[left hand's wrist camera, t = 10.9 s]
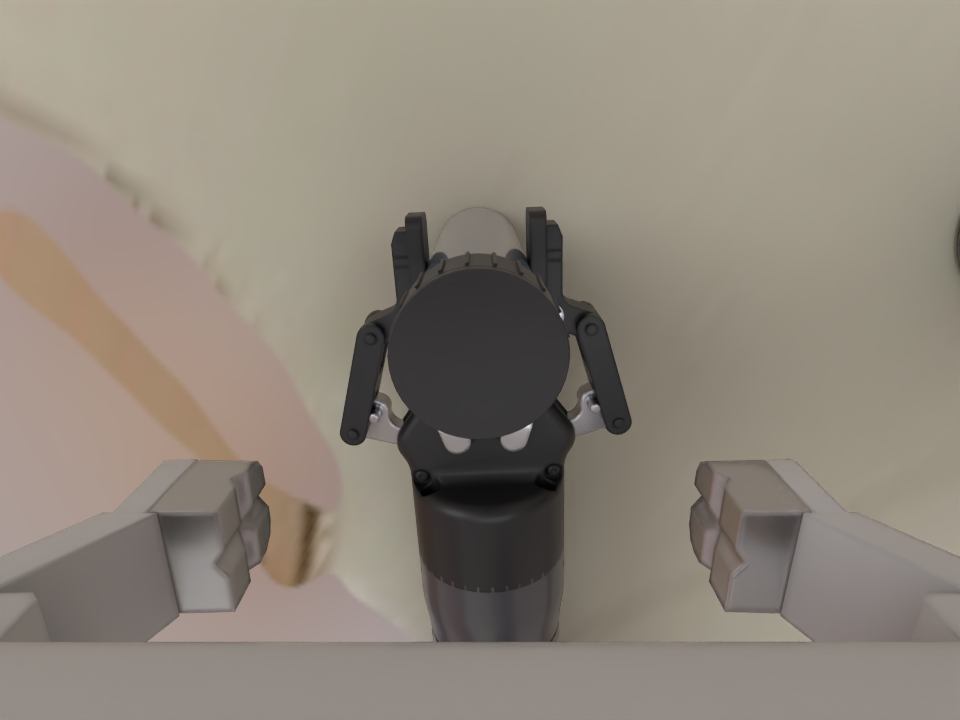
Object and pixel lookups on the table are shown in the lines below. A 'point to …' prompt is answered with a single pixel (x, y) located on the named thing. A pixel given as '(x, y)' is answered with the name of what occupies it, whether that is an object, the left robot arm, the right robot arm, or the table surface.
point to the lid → (478, 347)
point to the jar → (478, 237)
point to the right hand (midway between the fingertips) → (474, 213)
